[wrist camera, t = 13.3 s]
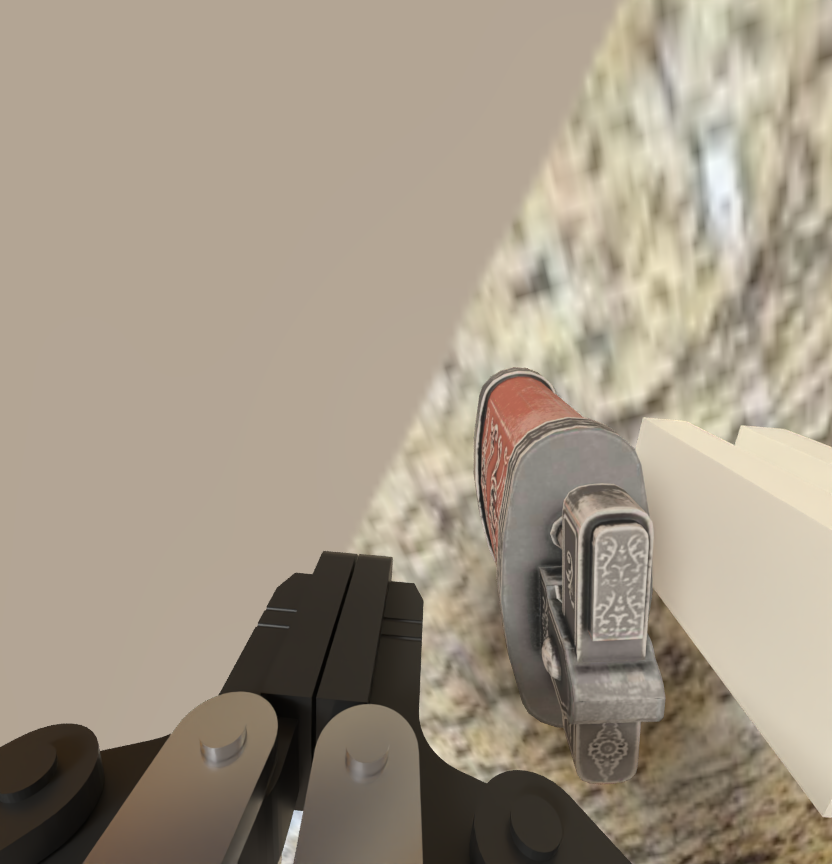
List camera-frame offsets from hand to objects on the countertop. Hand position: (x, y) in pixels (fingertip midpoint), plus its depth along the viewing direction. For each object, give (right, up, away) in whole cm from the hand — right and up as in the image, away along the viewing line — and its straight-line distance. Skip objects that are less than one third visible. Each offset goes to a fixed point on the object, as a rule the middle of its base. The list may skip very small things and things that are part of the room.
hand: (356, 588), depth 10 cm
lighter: (+5, +2, +8) cm, 9 cm away
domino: (+10, +1, +7) cm, 13 cm away
